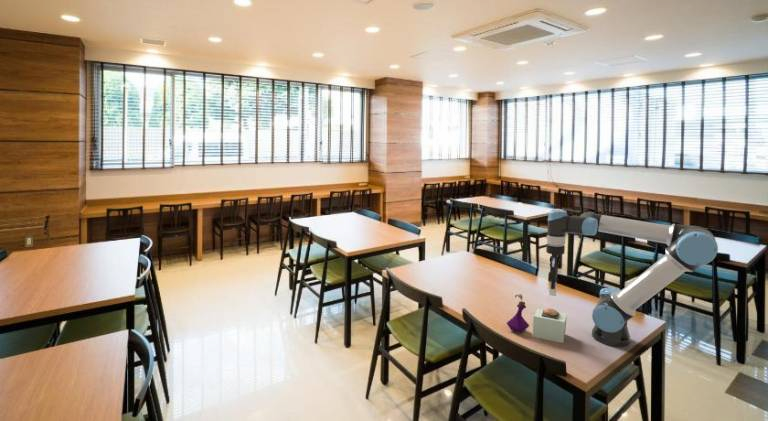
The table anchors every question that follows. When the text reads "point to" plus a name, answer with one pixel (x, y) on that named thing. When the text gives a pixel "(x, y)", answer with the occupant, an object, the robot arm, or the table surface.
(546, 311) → the peg
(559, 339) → the socket block
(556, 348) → the table surface
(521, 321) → the perfume bottle
